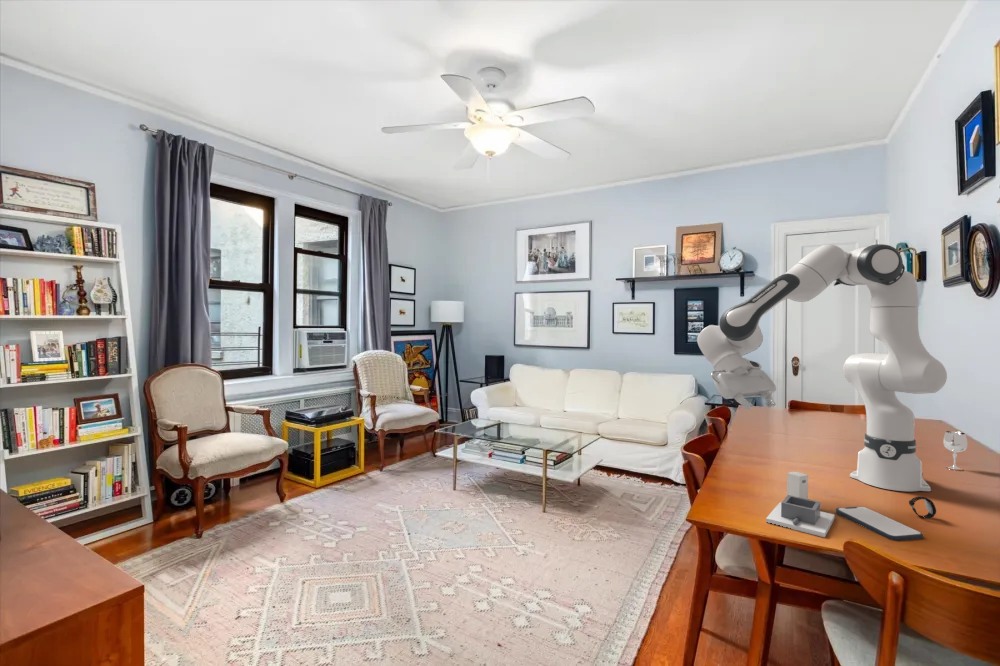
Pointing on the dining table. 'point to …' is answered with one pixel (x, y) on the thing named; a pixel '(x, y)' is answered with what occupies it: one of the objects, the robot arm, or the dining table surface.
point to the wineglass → (955, 444)
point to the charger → (797, 484)
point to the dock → (801, 516)
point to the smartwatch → (928, 504)
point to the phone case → (879, 523)
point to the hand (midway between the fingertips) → (761, 407)
